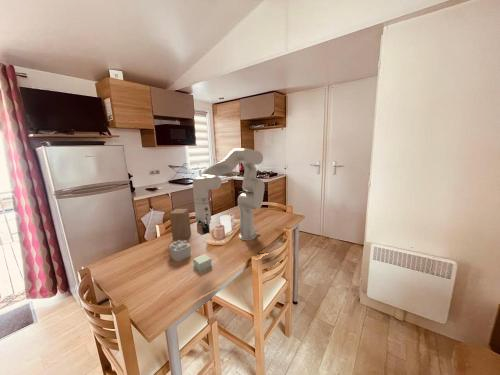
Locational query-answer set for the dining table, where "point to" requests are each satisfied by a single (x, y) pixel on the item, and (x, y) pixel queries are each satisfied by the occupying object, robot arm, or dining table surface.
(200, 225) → the walnut cube
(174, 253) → the lumpy-topped squat cylinder
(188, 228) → the wooden block
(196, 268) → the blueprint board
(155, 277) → the dining table surface
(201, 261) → the base block
